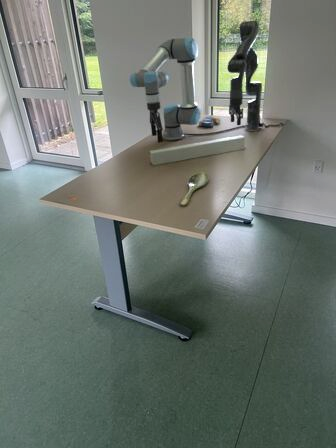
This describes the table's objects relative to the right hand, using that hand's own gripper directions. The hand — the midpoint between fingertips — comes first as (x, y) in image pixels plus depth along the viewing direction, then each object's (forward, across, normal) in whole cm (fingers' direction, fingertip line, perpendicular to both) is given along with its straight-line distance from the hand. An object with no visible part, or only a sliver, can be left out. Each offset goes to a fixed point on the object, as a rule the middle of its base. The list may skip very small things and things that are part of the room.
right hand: (235, 123), depth 209 cm
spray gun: (+17, +64, -10) cm, 67 cm away
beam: (+16, 0, +25) cm, 30 cm away
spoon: (+16, -46, +46) cm, 67 cm away
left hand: (+1, 0, +51) cm, 51 cm away
